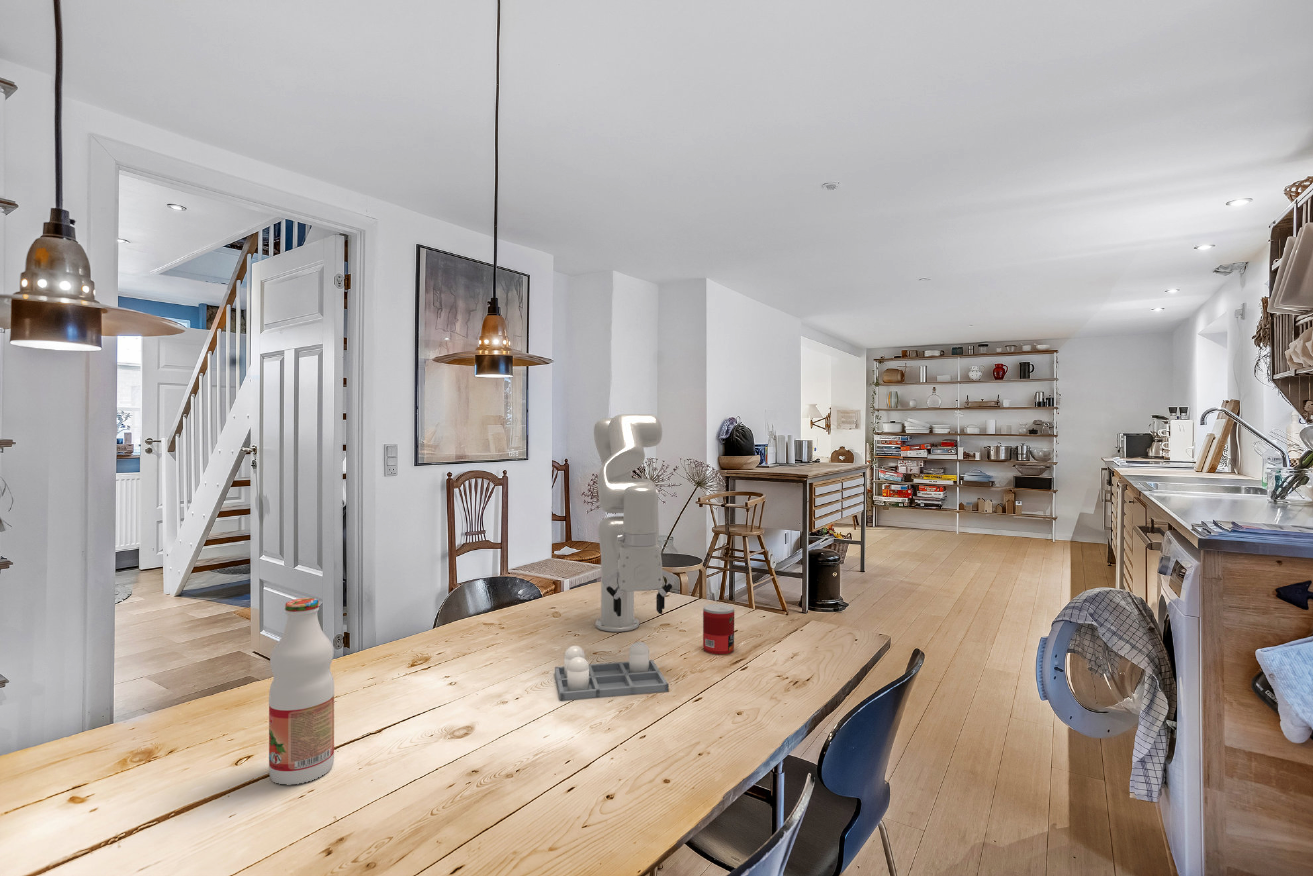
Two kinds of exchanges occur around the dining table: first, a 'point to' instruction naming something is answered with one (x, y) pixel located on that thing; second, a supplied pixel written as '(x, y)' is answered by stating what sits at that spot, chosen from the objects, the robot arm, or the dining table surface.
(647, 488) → the robot arm
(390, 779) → the dining table surface
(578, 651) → the seated egg
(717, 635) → the canned food
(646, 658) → the loose egg
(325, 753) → the fruit juice
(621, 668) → the egg carton
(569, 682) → the seated egg
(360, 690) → the dining table surface
